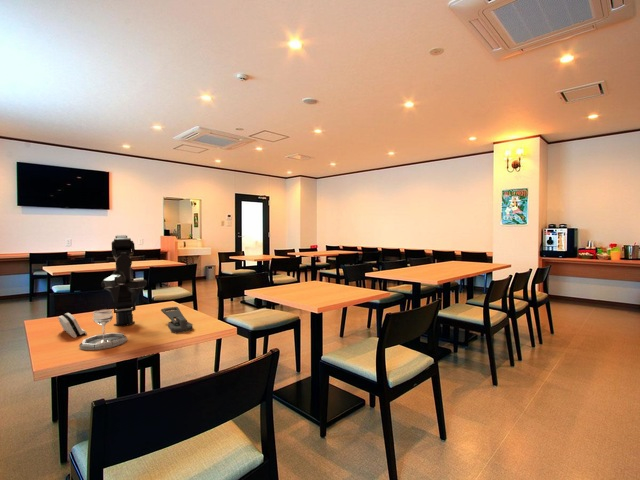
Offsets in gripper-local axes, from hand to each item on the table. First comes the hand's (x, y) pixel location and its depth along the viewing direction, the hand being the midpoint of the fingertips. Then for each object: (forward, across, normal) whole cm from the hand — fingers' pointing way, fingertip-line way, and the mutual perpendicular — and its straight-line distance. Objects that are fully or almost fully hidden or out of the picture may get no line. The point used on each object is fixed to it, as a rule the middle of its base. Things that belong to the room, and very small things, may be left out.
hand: (124, 303), depth 149 cm
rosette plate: (+13, +2, -13) cm, 18 cm away
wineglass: (+12, +2, -13) cm, 18 cm away
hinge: (+13, -24, -5) cm, 28 cm away
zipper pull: (+13, +15, +14) cm, 24 cm away
